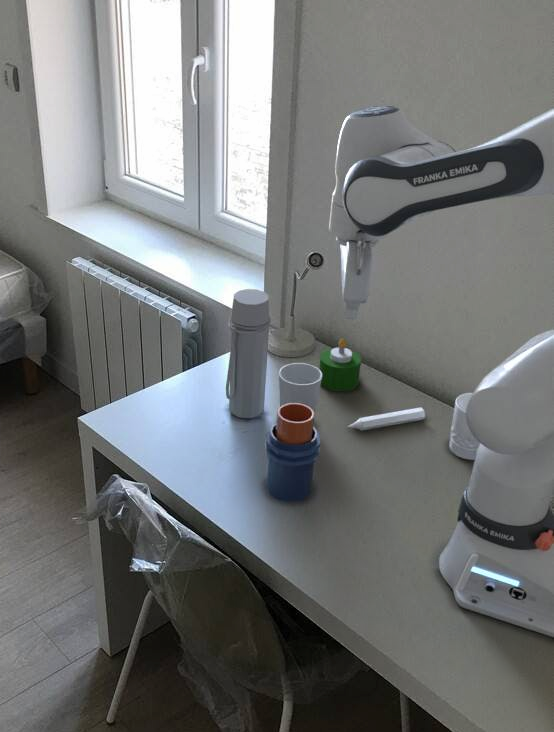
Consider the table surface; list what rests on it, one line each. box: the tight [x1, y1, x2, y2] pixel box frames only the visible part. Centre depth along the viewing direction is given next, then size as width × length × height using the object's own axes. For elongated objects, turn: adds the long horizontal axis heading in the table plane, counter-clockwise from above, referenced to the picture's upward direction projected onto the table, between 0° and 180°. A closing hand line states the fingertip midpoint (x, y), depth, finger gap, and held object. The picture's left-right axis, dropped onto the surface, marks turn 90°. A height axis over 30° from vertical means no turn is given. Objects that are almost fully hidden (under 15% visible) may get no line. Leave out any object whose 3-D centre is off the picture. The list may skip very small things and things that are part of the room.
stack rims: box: [265, 430, 321, 466], centre depth 144 cm, size 9×9×2 cm
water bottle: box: [225, 288, 272, 419], centre depth 162 cm, size 9×8×25 cm
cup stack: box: [265, 422, 319, 503], centre depth 146 cm, size 8×8×12 cm
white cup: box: [448, 392, 480, 461], centre depth 154 cm, size 8×8×10 cm
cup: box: [278, 362, 322, 415], centre depth 161 cm, size 8×8×12 cm
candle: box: [318, 338, 362, 392], centre depth 175 cm, size 8×8×10 cm
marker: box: [347, 406, 426, 431], centre depth 164 cm, size 3×2×16 cm
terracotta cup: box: [275, 403, 316, 445], centre depth 143 cm, size 6×6×10 cm
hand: (349, 303), depth 134 cm, fingers open, 8 cm apart
